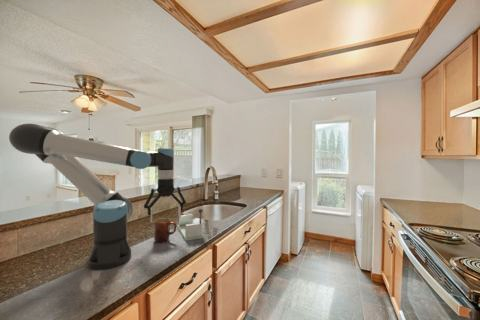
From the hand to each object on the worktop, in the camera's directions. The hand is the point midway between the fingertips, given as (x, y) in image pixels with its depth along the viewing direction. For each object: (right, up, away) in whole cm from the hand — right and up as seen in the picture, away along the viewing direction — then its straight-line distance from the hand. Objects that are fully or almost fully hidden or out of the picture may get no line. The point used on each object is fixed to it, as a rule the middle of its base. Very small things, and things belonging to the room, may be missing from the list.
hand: (165, 219), depth 103 cm
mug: (0, -11, 0) cm, 11 cm away
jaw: (+4, -9, +23) cm, 25 cm away
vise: (+9, -11, +12) cm, 18 cm away
